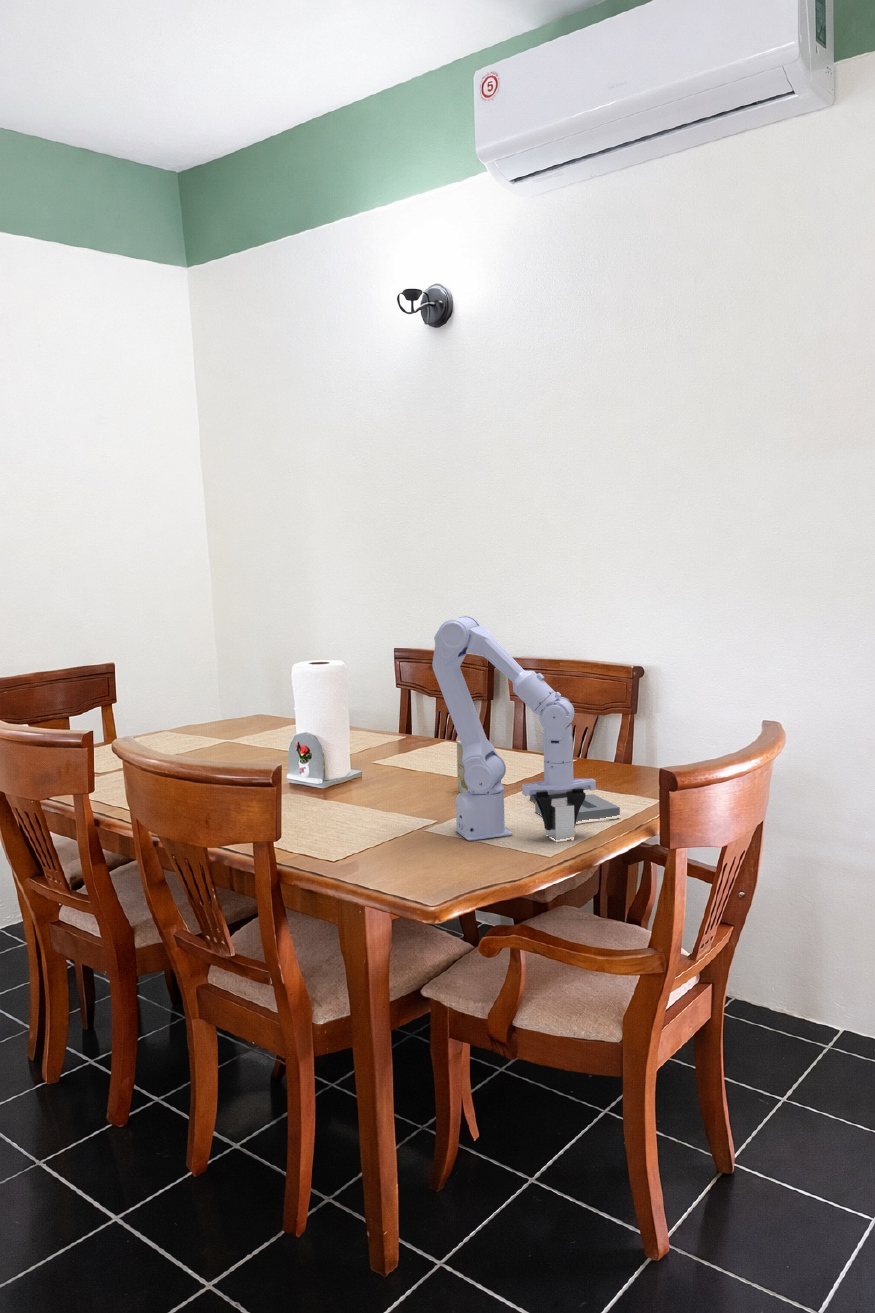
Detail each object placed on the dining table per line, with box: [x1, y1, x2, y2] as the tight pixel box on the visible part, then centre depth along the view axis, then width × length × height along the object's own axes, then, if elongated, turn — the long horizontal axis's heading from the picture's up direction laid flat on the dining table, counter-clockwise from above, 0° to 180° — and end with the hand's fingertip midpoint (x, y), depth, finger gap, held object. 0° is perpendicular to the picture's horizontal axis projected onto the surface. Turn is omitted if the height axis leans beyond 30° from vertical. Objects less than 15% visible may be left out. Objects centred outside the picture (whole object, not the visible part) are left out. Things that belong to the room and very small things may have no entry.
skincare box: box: [456, 740, 468, 793], centre depth 234 cm, size 6×4×12 cm
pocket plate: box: [534, 793, 621, 822], centre depth 212 cm, size 14×12×2 cm
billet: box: [544, 799, 576, 840], centre depth 197 cm, size 4×5×7 cm
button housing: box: [529, 792, 567, 803], centre depth 224 cm, size 8×8×3 cm
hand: (559, 828), depth 197 cm, fingers closed on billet, 4 cm apart
